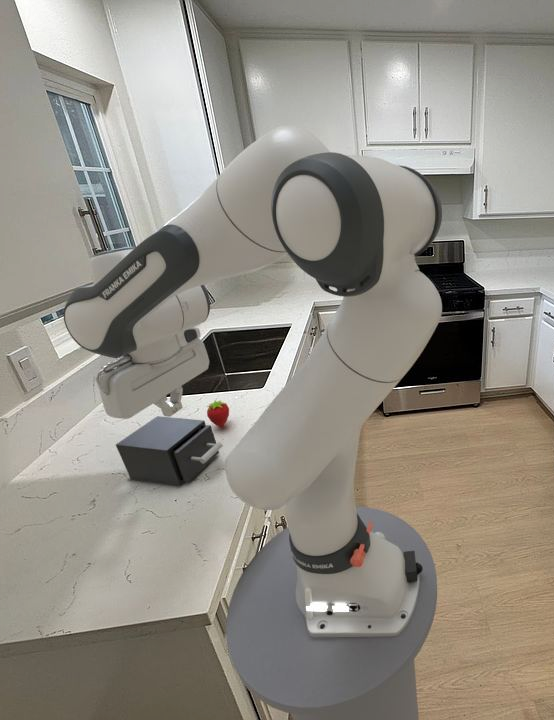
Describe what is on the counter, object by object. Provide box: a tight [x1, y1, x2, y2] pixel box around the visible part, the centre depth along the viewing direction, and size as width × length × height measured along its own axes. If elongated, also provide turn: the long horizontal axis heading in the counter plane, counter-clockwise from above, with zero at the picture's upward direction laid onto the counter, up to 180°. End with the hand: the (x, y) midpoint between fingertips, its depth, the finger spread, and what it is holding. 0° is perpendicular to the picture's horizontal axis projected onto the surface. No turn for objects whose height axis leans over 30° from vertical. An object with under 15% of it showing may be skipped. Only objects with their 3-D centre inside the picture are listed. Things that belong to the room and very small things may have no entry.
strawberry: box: [206, 399, 230, 429], centre depth 115 cm, size 6×8×10 cm
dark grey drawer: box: [170, 424, 223, 483], centre depth 98 cm, size 18×11×9 cm, turn 78°
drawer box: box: [115, 415, 207, 487], centre depth 99 cm, size 15×13×11 cm
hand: (173, 412), depth 73 cm, fingers closed
